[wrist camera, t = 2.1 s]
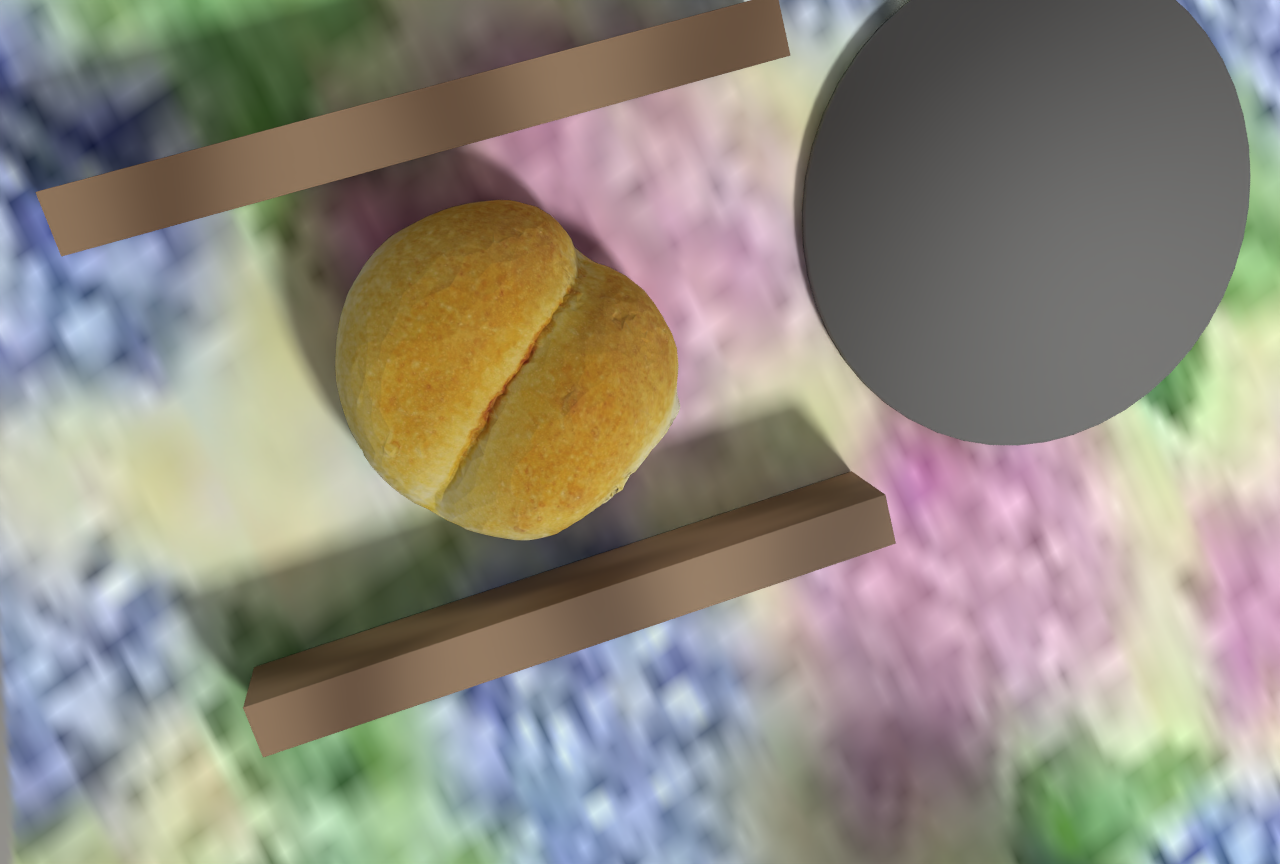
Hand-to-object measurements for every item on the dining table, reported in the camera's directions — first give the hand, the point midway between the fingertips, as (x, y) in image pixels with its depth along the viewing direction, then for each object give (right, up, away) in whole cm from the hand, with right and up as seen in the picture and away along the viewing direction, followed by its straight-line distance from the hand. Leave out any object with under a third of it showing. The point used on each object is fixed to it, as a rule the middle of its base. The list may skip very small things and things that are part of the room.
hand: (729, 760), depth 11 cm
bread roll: (-5, +5, +21) cm, 22 cm away
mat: (+11, +10, +23) cm, 27 cm away
